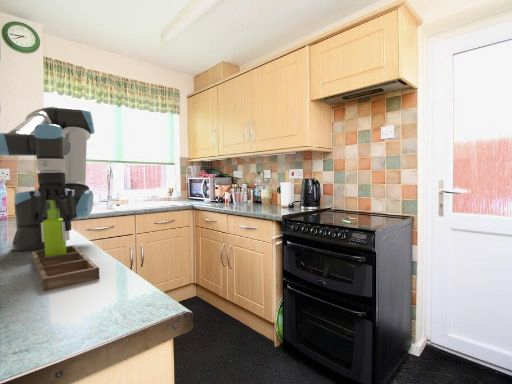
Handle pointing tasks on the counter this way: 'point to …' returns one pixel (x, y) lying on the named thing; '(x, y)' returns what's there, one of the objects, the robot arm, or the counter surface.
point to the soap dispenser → (53, 232)
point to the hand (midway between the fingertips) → (56, 240)
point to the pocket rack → (64, 268)
